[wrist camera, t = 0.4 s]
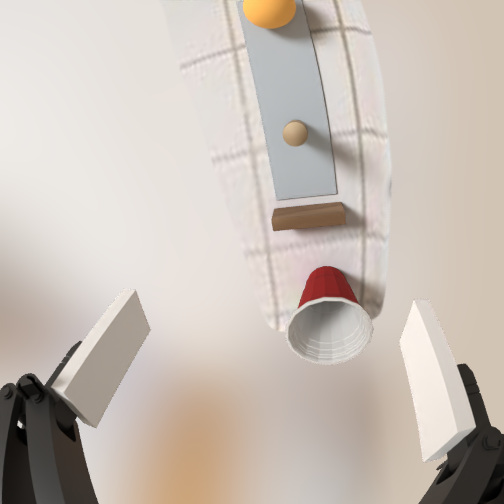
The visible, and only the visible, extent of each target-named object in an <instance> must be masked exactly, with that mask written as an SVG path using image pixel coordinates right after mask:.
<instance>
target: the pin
mask: <svg viewBox="0 0 504 504" xmlns="http://www.w3.org/2000/svg"><path fill="white" fill-rule="evenodd" d="M307 137H308V131H307V128H306V126H305V124H304V123H303V122H302V121H300V120H292V121H290V122H289V123H288V124H287V125H286V126H285V127H284V129H283V139H284V141H285V142H286V143H287V144H288V145H290V146H294V147H297V146H301V145H303V144H304V143H305V142H306V140H307Z"/></svg>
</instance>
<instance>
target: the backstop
mask: <svg viewBox="0 0 504 504" xmlns="http://www.w3.org/2000/svg"><path fill="white" fill-rule="evenodd" d="M342 224H346V220H345V211H344V209H343V206H342V203H341V202H335V203H325V204H314V205H305V206H295V207H286V208H277V209H274V212H273V216H272V226H273V231H280V230H290V229H300V228H310V227H321V226H331V225H342Z"/></svg>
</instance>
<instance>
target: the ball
mask: <svg viewBox="0 0 504 504" xmlns="http://www.w3.org/2000/svg"><path fill="white" fill-rule="evenodd" d="M243 11H244V14H245V16H246V17H247V19H248V20H249V21H250V22H251V23H253V24H254V25H256V26H259V27H262V28H267V29H273V28H279V27H282V26H284V25H286V24H287V23H289V22H290V21H291V20H292V18H293V17H294V15H295V11H296V4H295V1H294V0H244V2H243Z"/></svg>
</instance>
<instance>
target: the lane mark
mask: <svg viewBox="0 0 504 504" xmlns="http://www.w3.org/2000/svg"><path fill="white" fill-rule="evenodd" d="M294 1H295V4H296V11H295V15H294V17H293V18H292V20H291V21H290V22H289V23H287V24H286V25H284V26H282V27H279V28H273V29H267V28H262V27H259V26H256V25H254V24H253V23H251V22H250V21H249V20H248V19H247V17H246V16H245V14H244V11H243V2H244V0H242V1H238V2H236V4H237V8H238V12H239V17H240V21H241V25H242V29H243V34H244V38H245V42H246V47H247V51H248V56H249V60H250V65H251V70H252V74H253V79H254V84H255V88H256V93H257V98H258V103H259V108H260V113H261V118H262V123H263V128H264V134H265V139H266V144H267V149H268V155H269V160H270V166H271V171H272V177H273V183H274V189H275V194H276V200H282V199H290V198H299V197H309V196H319V195H329V194H337V192H336V182H335V173H334V164H333V156H332V148H331V140H330V133H329V127H328V120H327V114H326V108H325V102H324V96H323V91H322V85H321V80H320V75H319V70H318V65H317V61H316V56H315V52H314V47H313V43H312V39H311V35H310V31H309V27H308V23H307V19H306V15H305V12H304V8H303V5H302V1H301V0H294ZM292 120H300V121H302V122H303V123H304V124H305V126H306V128H307V131H308V137H307V140H306V142H305V143H304V144H303V145H301V146H297V147H294V146H290V145H288V144H287V143H286V142H285V141H284V139H283V129H284V127H285V126H286V125H287V124H288V123H289V122H290V121H292Z"/></svg>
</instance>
